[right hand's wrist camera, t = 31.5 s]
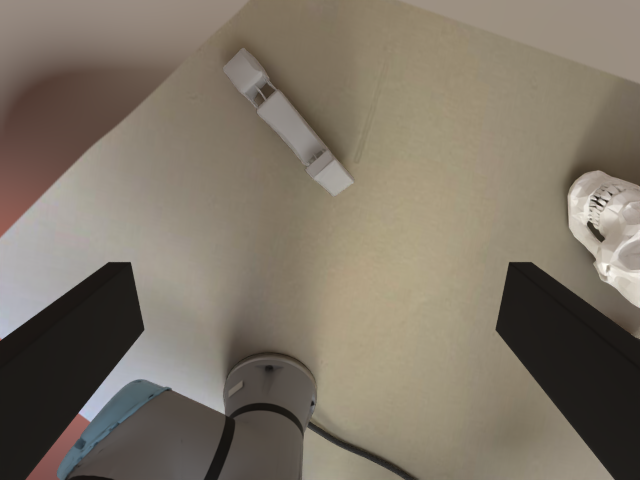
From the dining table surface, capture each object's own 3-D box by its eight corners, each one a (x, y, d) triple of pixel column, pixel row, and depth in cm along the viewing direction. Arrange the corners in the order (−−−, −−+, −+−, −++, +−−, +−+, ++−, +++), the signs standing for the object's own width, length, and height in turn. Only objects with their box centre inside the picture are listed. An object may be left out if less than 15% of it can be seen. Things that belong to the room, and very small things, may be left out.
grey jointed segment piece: (355, 178, 47) (358, 184, 40) (334, 196, 47) (332, 205, 41) (252, 52, 43) (236, 37, 37) (230, 74, 44) (211, 63, 38)
